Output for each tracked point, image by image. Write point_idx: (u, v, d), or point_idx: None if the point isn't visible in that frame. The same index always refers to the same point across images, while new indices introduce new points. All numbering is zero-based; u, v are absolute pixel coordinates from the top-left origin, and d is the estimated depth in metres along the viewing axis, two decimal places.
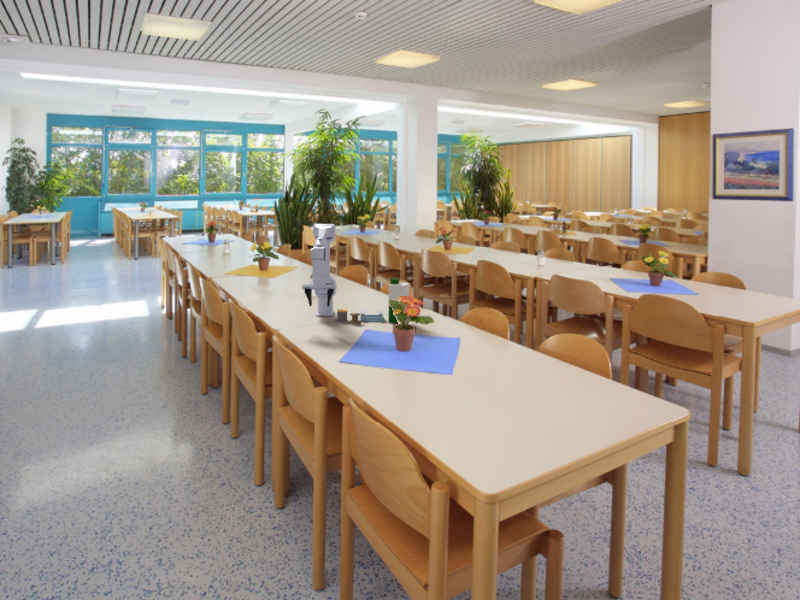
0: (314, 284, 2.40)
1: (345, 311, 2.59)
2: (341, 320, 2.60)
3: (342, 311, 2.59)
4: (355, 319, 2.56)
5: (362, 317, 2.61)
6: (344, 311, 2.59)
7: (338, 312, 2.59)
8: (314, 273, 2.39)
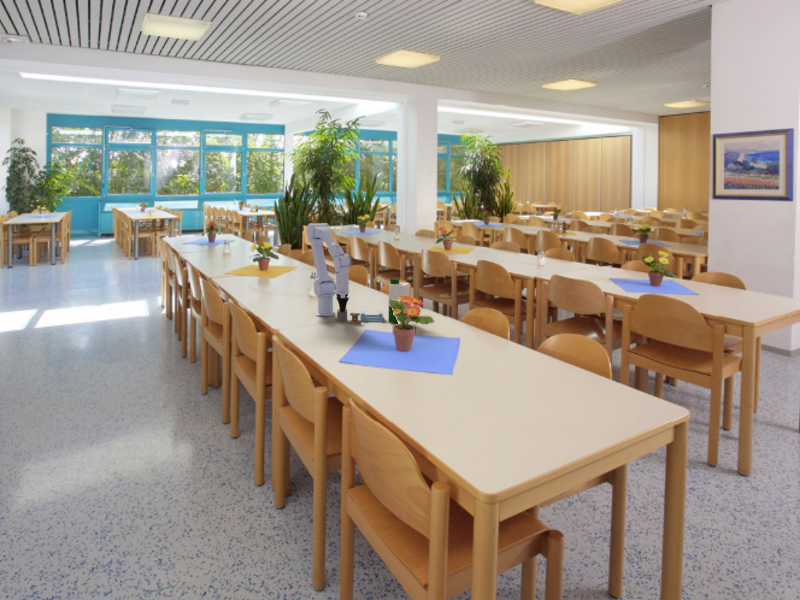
0: None
1: (345, 311, 2.59)
2: (341, 320, 2.60)
3: None
4: (355, 319, 2.56)
5: (362, 317, 2.61)
6: None
7: (338, 312, 2.59)
8: (341, 280, 2.55)
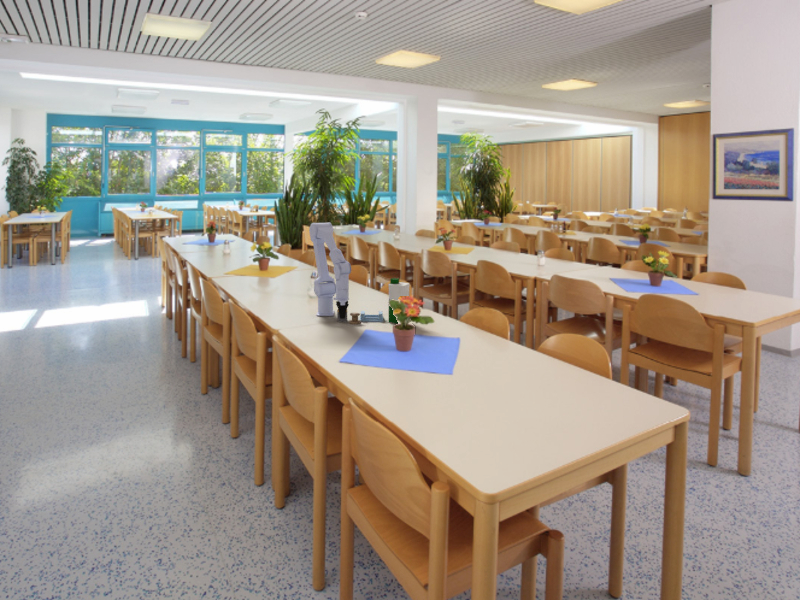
0: None
1: None
2: (341, 320, 2.60)
3: None
4: (355, 319, 2.56)
5: (362, 317, 2.61)
6: None
7: (338, 312, 2.59)
8: (341, 287, 2.55)
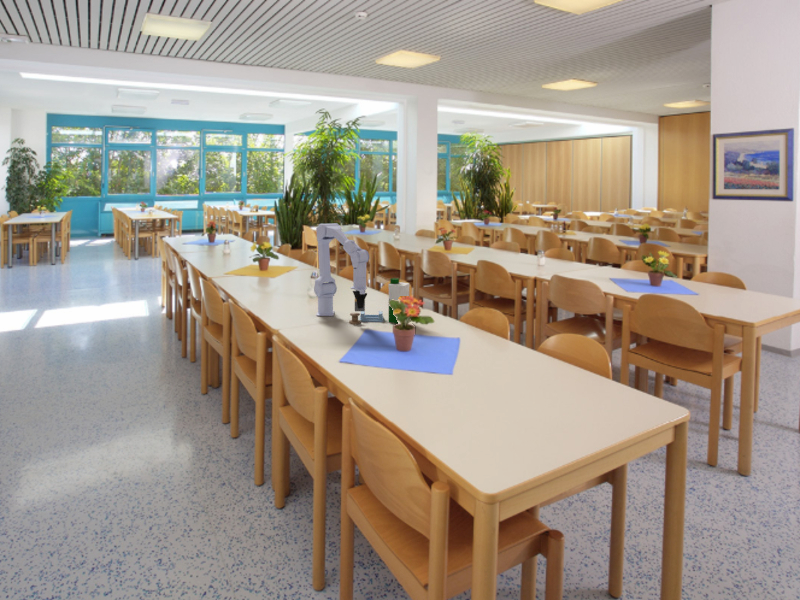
0: None
1: None
2: (359, 310, 2.52)
3: None
4: (355, 319, 2.56)
5: (362, 317, 2.61)
6: None
7: (356, 302, 2.51)
8: (359, 276, 2.47)
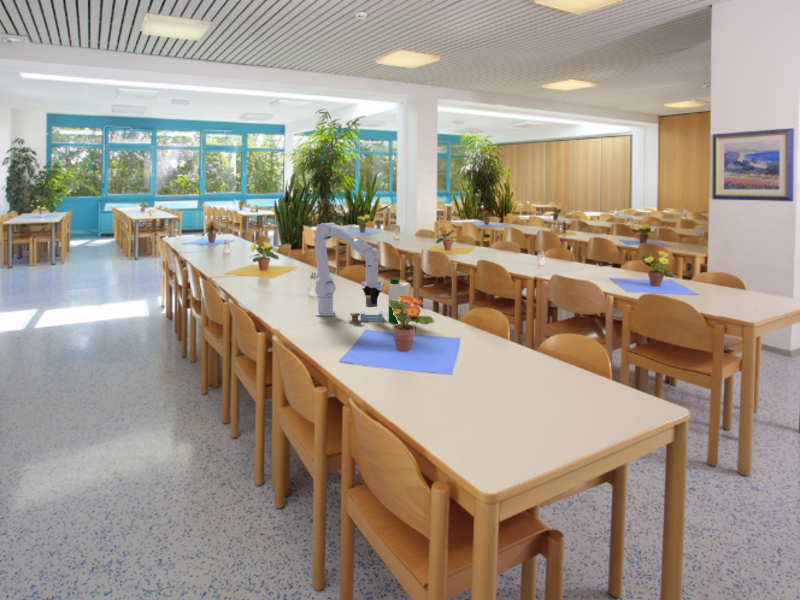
0: (365, 282, 2.61)
1: None
2: (372, 306, 2.62)
3: None
4: (355, 319, 2.56)
5: (362, 317, 2.61)
6: None
7: (370, 298, 2.60)
8: (374, 273, 2.57)
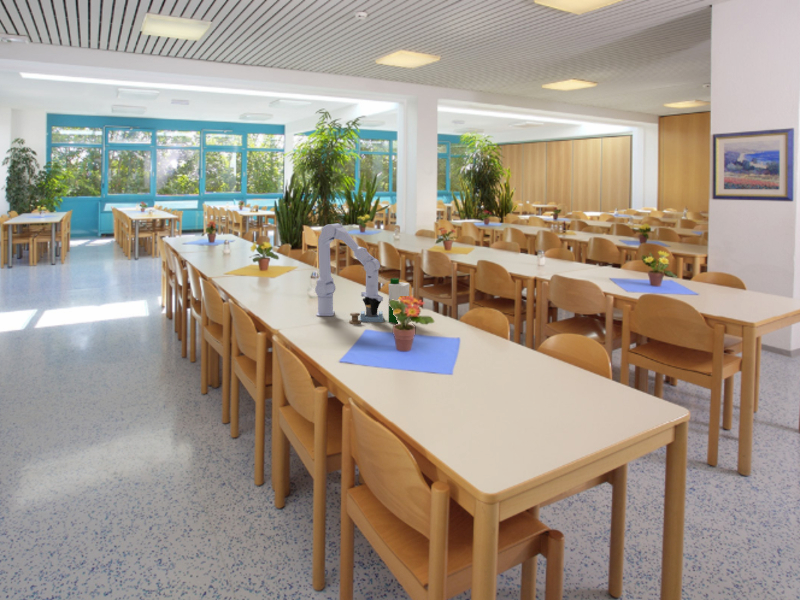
0: (365, 293, 2.62)
1: None
2: (372, 315, 2.63)
3: None
4: (355, 319, 2.56)
5: (362, 317, 2.61)
6: None
7: (370, 308, 2.61)
8: (374, 284, 2.59)
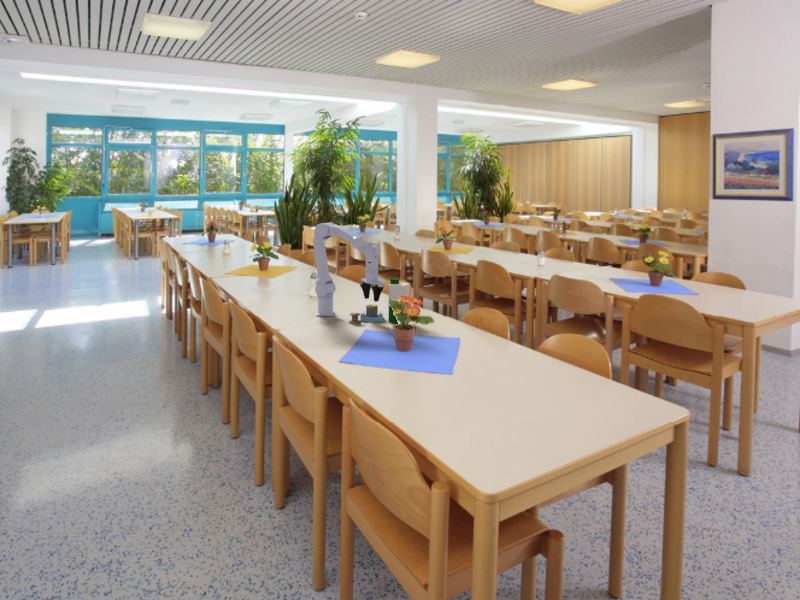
0: (365, 279, 2.61)
1: (376, 306, 2.63)
2: (372, 315, 2.63)
3: (373, 306, 2.62)
4: (355, 319, 2.56)
5: (362, 317, 2.61)
6: (375, 306, 2.63)
7: (370, 308, 2.61)
8: (374, 269, 2.58)
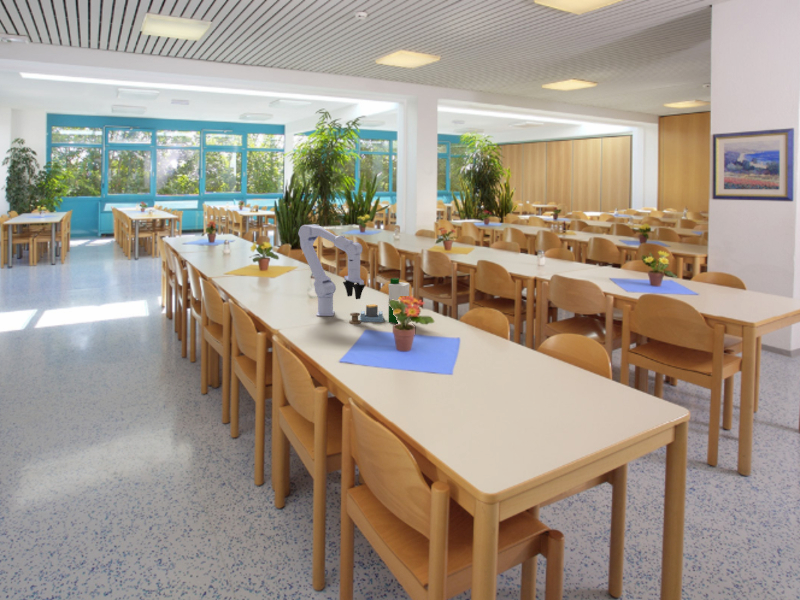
0: None
1: (376, 306, 2.63)
2: (372, 315, 2.63)
3: (373, 306, 2.62)
4: (355, 319, 2.56)
5: (362, 317, 2.61)
6: (375, 306, 2.63)
7: (370, 308, 2.61)
8: (356, 267, 2.59)
